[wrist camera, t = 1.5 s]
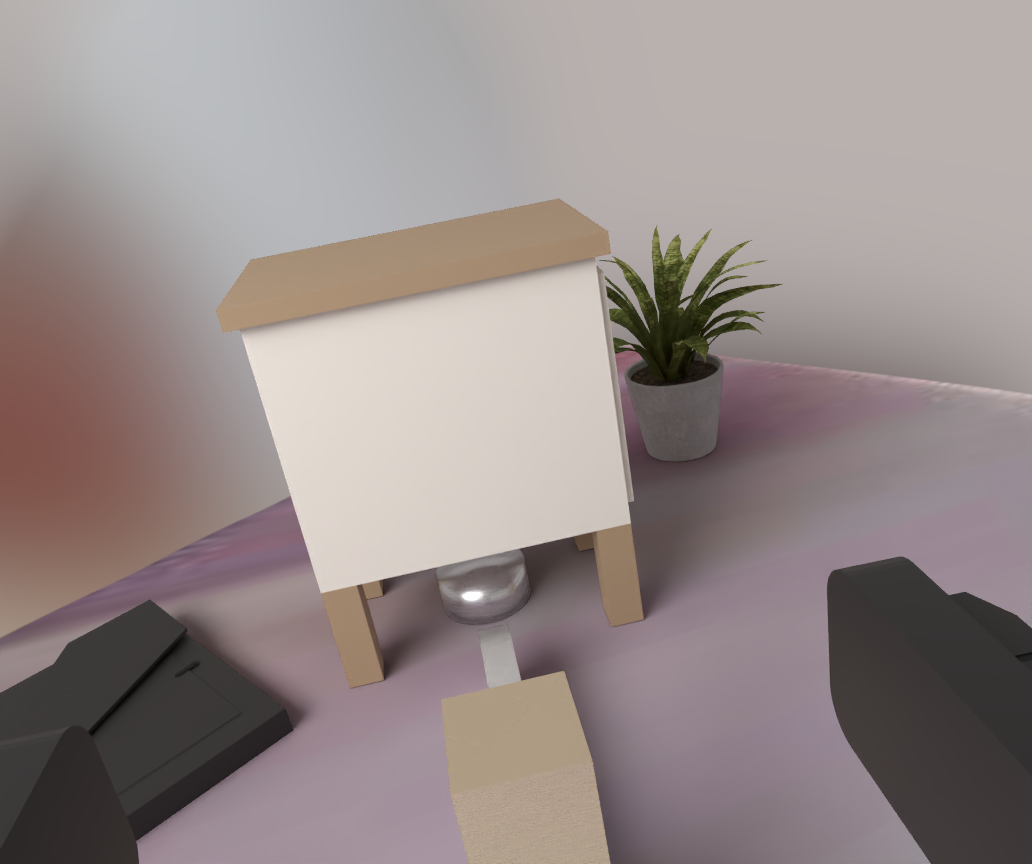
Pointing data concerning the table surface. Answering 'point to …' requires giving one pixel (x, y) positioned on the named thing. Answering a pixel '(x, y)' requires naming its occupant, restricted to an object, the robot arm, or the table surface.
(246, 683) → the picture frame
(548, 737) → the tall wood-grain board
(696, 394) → the house plant
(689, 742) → the table surface
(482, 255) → the cabinet
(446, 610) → the round shiny metal container
